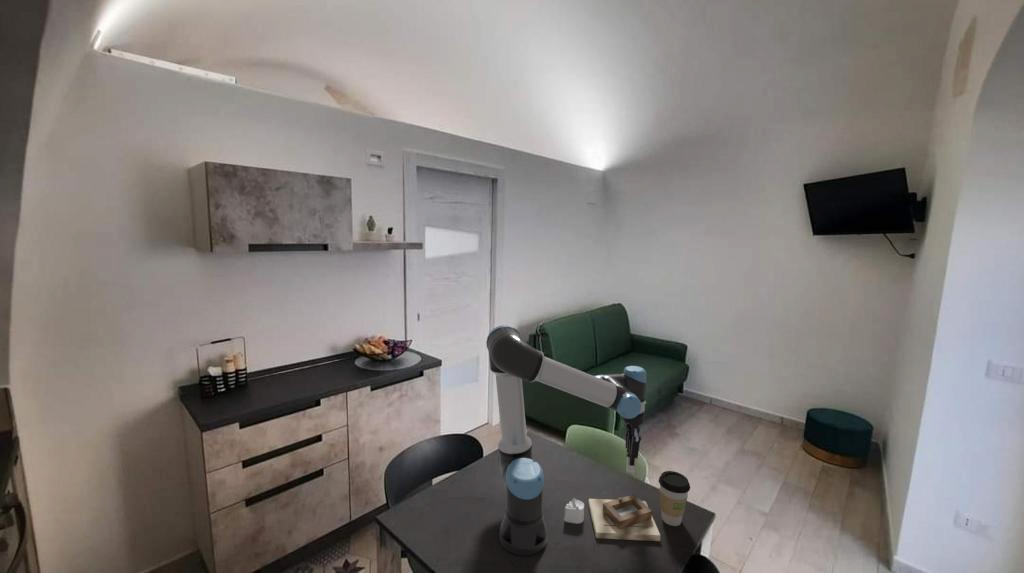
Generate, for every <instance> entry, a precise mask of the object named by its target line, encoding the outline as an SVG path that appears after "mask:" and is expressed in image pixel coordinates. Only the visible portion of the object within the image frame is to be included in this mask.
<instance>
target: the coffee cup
mask: <svg viewBox="0 0 1024 573" xmlns="http://www.w3.org/2000/svg"><path fill="white" fill-rule="evenodd" d="M658 484H659V494H660V495H659V501H660V502H659V503H660V511H661V520H662V521H663V523H664V524H666V525H669V526H672V527H678V526H680V525H681V523H682V521H683V515H684V513H685V509H686V506H687V500H688V493H689V492H690V491H691V484H690V482H689V480H688V478H687V476H685V475H684V474H683V473H680V472H677V471H675V470H674V471H673V470H667V471H664V472H662V473H661V474H660V476H659V477H658Z"/></svg>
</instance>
